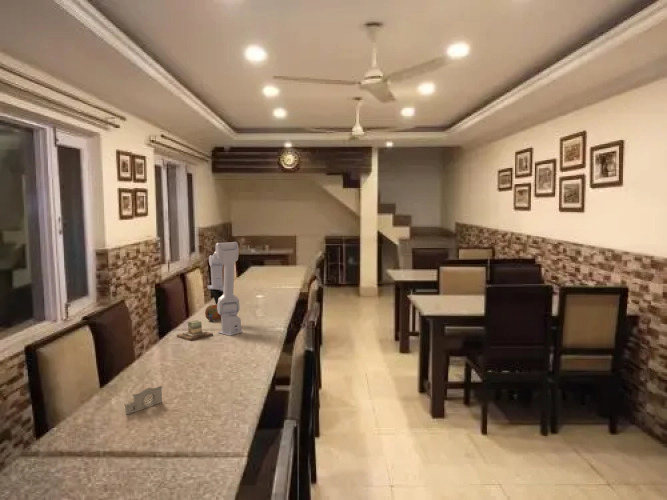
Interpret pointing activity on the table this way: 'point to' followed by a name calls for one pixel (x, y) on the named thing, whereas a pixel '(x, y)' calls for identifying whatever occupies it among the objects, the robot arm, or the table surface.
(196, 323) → the stack
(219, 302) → the robot arm
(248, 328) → the table surface
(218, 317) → the tin
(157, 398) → the garden wall model
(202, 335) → the plate
